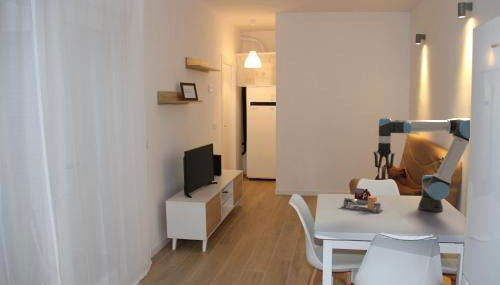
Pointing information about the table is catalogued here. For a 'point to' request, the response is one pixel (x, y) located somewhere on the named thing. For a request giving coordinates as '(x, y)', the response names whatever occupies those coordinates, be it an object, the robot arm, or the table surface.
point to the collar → (372, 202)
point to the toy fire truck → (361, 194)
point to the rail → (365, 209)
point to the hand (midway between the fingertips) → (383, 178)
